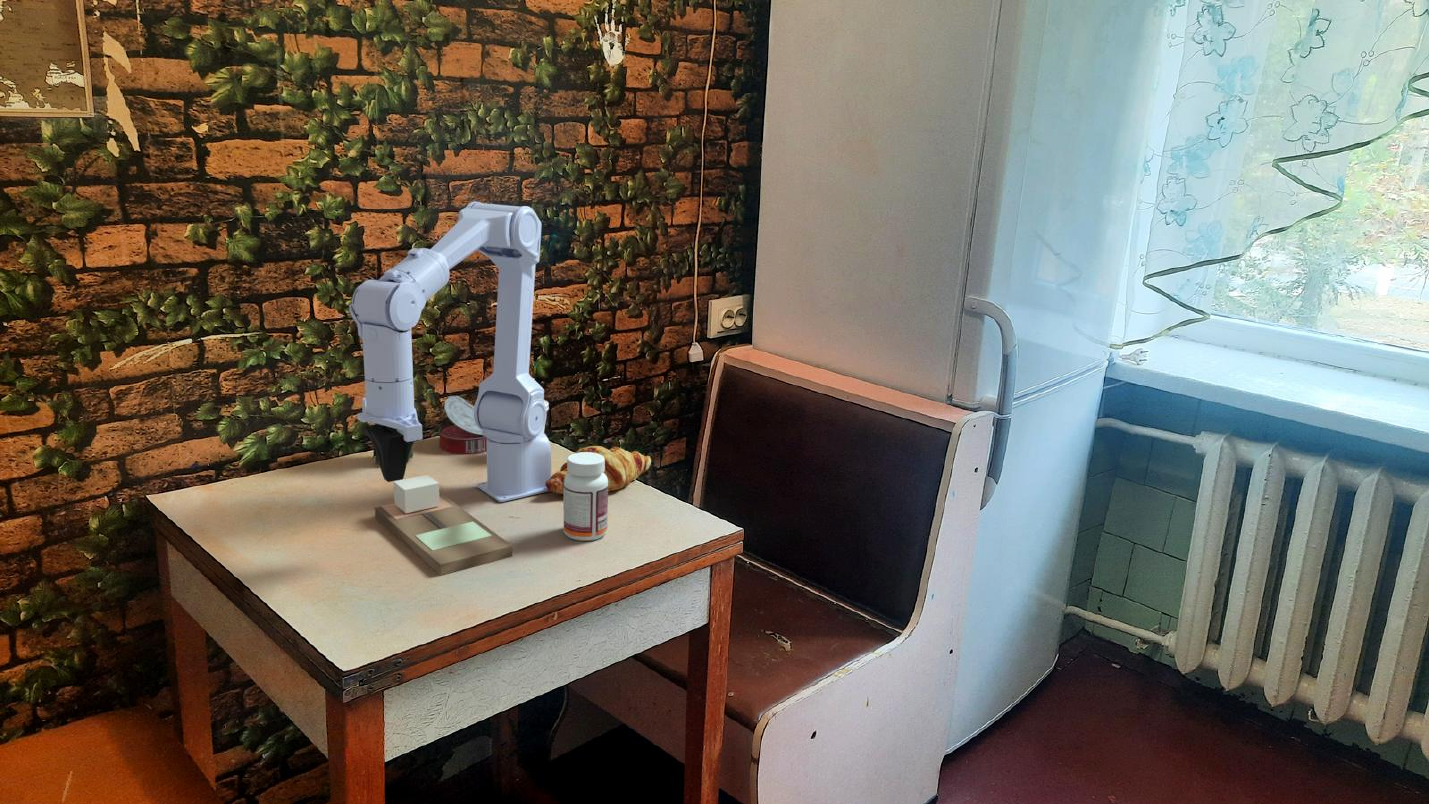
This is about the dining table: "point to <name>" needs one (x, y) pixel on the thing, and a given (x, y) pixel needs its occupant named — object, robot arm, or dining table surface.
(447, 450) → the canned food
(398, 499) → the white block
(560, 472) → the croissant
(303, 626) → the dining table surface
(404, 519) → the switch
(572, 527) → the pill bottle
